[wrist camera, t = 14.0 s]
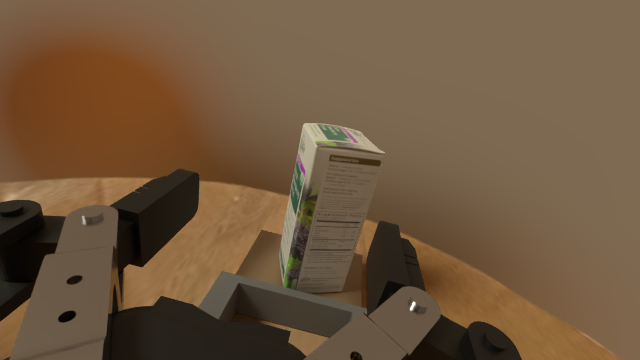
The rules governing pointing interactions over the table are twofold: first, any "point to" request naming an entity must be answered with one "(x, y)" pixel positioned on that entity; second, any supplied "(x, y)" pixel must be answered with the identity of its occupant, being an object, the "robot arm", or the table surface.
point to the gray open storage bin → (277, 305)
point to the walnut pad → (266, 268)
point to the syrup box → (327, 206)
